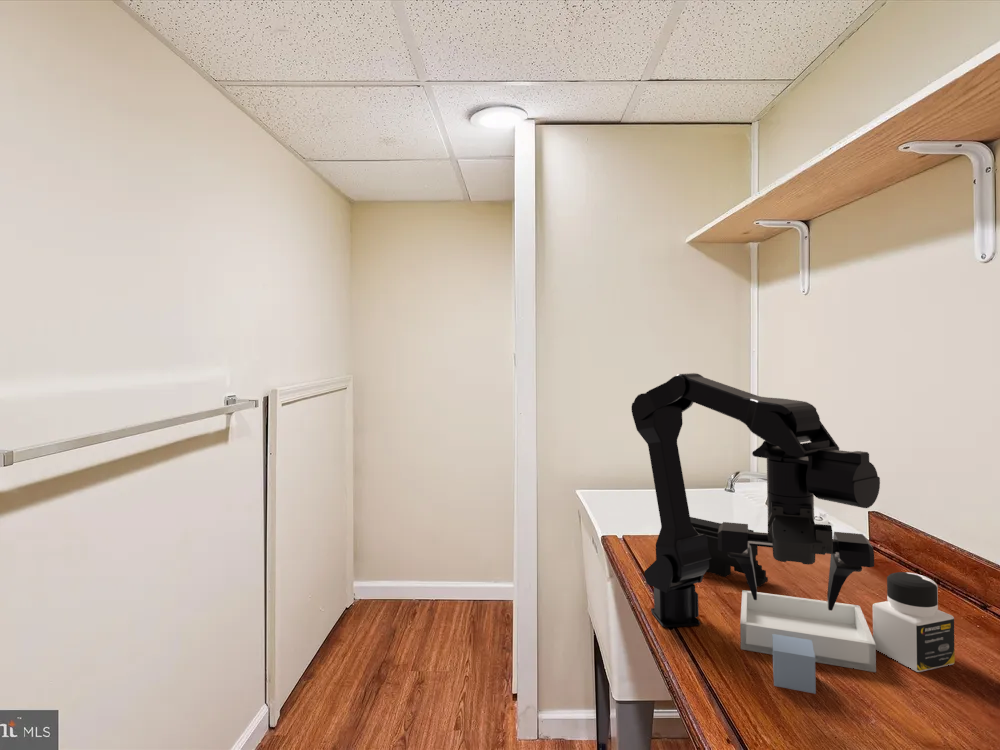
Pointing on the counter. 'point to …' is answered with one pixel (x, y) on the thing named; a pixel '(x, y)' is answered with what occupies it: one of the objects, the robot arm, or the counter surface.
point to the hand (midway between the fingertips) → (791, 604)
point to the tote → (808, 628)
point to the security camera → (721, 560)
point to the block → (794, 663)
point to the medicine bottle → (913, 624)
